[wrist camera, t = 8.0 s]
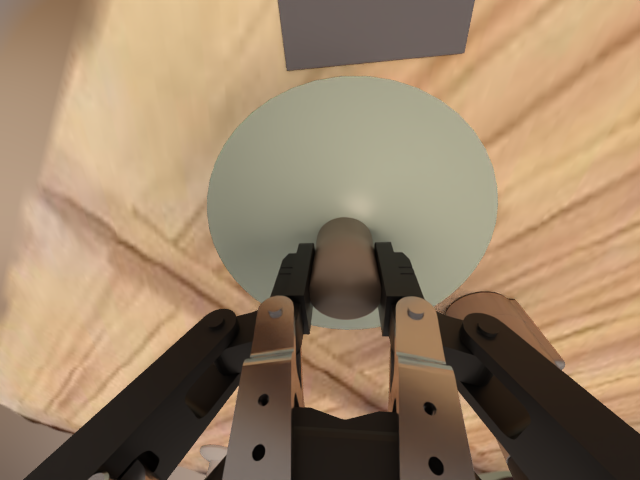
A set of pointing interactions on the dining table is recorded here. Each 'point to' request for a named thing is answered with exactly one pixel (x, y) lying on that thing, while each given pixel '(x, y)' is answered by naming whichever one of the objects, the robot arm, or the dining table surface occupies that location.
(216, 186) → the lid
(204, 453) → the candlestick
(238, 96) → the dining table surface
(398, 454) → the robot arm
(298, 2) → the mat
